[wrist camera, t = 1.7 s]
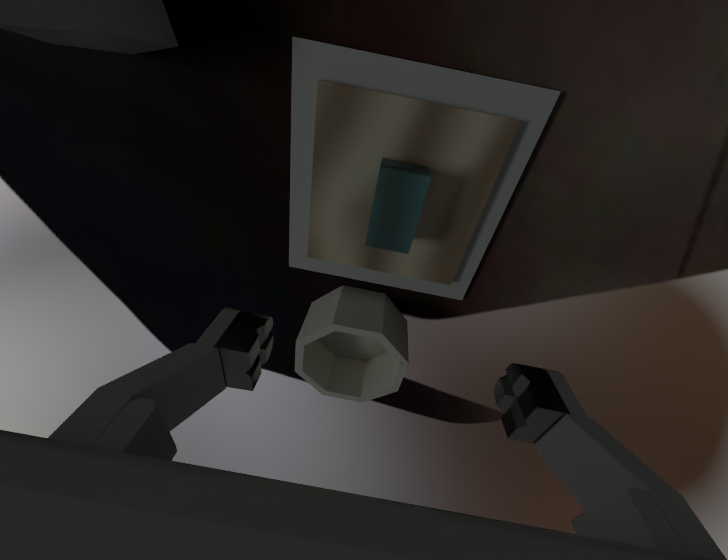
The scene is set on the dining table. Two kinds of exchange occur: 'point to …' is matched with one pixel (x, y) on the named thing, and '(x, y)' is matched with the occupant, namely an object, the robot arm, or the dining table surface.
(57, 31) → the dark grey block
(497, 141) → the board
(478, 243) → the mat
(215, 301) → the dining table surface
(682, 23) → the dining table surface
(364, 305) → the bowl
